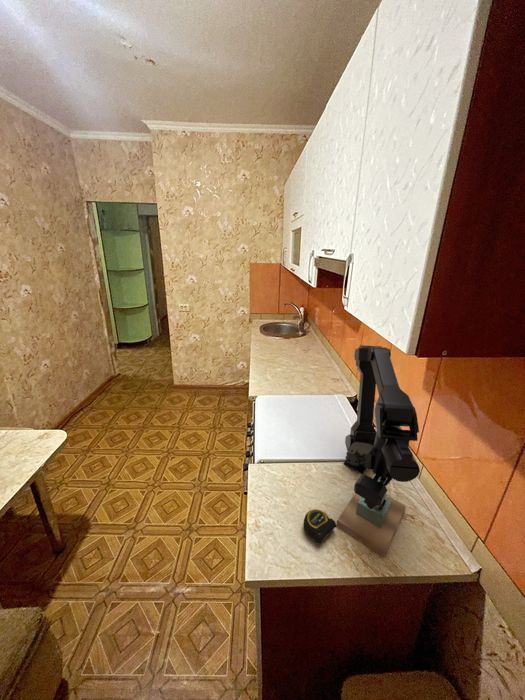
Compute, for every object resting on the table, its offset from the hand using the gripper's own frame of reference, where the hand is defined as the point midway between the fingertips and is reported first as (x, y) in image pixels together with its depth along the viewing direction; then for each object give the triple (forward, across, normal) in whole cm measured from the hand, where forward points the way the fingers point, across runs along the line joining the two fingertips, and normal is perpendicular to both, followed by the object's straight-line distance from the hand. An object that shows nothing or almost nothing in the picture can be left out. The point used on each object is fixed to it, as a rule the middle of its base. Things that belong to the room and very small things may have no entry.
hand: (376, 496), depth 74 cm
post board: (+8, 0, 0) cm, 8 cm away
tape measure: (+8, +12, -8) cm, 17 cm away
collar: (+6, 0, 0) cm, 6 cm away
